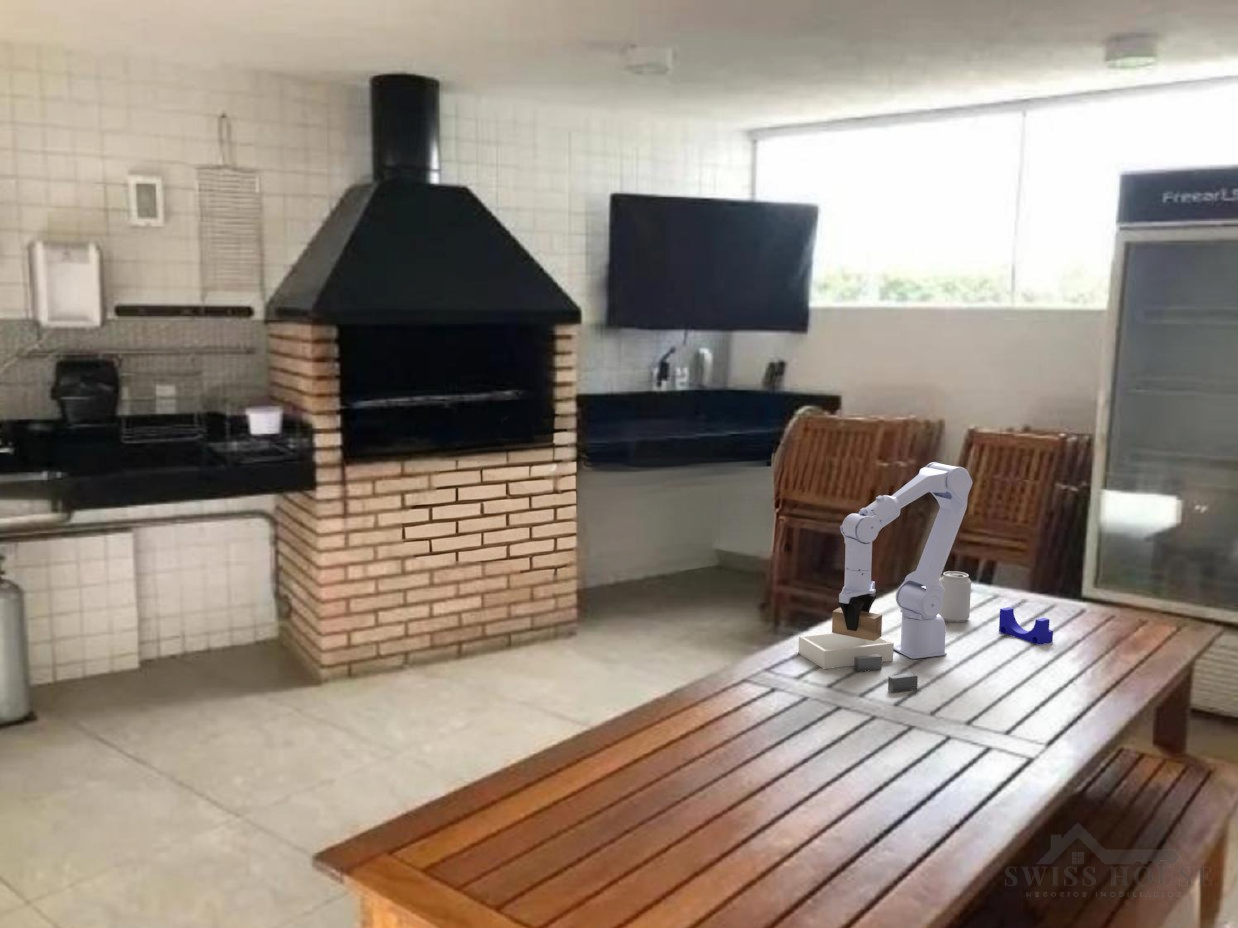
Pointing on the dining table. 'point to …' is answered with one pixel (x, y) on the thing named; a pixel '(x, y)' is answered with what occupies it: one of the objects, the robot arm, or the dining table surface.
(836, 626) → the wooden block
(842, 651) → the bin
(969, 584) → the can
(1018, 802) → the dining table surface
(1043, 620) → the blue saddle bracket
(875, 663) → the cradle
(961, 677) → the dining table surface
